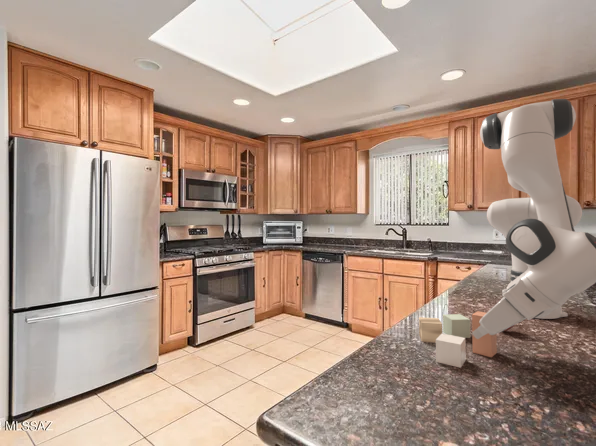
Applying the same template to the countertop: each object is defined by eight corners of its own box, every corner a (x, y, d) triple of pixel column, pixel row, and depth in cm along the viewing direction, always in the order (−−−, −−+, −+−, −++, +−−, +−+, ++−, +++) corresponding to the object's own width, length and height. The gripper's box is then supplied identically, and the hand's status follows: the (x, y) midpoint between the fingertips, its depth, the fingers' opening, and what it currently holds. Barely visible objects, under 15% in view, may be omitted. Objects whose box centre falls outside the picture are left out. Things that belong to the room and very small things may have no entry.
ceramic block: (442, 354, 75) (441, 333, 75) (465, 360, 72) (465, 337, 72) (436, 362, 71) (435, 339, 71) (460, 368, 68) (460, 344, 68)
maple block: (419, 335, 88) (418, 317, 88) (438, 336, 87) (438, 318, 87) (421, 341, 83) (421, 322, 83) (442, 343, 82) (442, 323, 82)
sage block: (443, 332, 91) (442, 314, 91) (460, 331, 91) (460, 314, 91) (452, 338, 86) (451, 319, 86) (470, 338, 86) (470, 319, 86)
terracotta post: (478, 347, 79) (477, 311, 79) (496, 352, 76) (496, 314, 76) (472, 352, 76) (472, 314, 76) (491, 357, 73) (491, 317, 73)
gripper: (529, 278, 78) (485, 311, 85) (506, 291, 64) (455, 328, 71) (553, 299, 75) (505, 331, 82) (534, 317, 61) (478, 354, 68)
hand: (482, 330), depth 76 cm, fingers open, 8 cm apart
